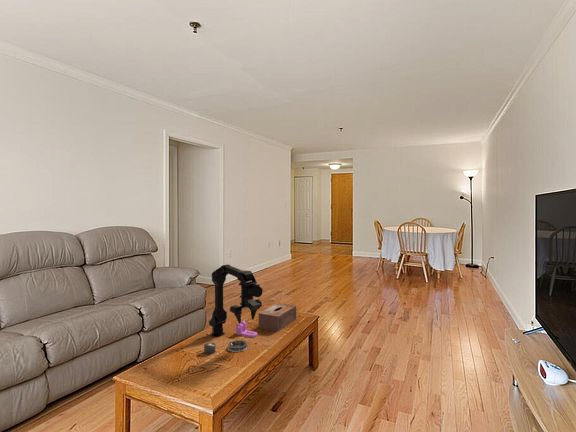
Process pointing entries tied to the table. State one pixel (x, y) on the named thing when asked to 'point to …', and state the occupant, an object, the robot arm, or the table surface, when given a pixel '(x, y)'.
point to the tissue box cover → (277, 317)
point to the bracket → (244, 330)
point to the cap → (209, 348)
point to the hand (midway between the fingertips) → (246, 321)
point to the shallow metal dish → (237, 346)
